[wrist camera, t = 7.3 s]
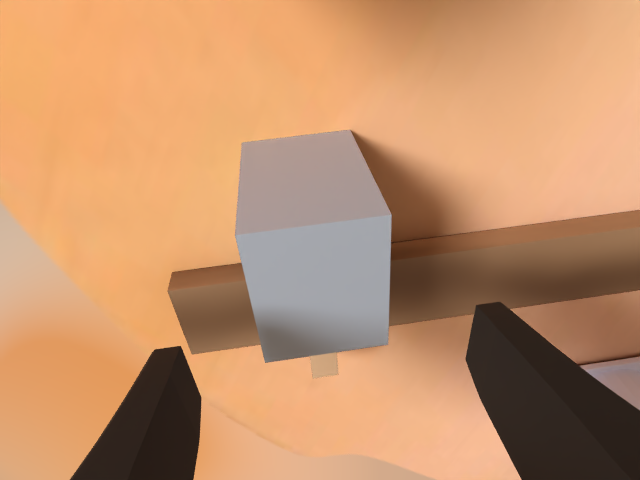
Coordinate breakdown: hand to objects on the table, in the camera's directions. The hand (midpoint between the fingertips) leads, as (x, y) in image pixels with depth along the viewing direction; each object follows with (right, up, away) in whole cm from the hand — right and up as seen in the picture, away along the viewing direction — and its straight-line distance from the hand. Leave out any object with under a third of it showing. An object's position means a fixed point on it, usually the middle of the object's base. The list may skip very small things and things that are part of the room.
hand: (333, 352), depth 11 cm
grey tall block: (-1, +2, +8) cm, 8 cm away
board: (+4, +1, +10) cm, 11 cm away
